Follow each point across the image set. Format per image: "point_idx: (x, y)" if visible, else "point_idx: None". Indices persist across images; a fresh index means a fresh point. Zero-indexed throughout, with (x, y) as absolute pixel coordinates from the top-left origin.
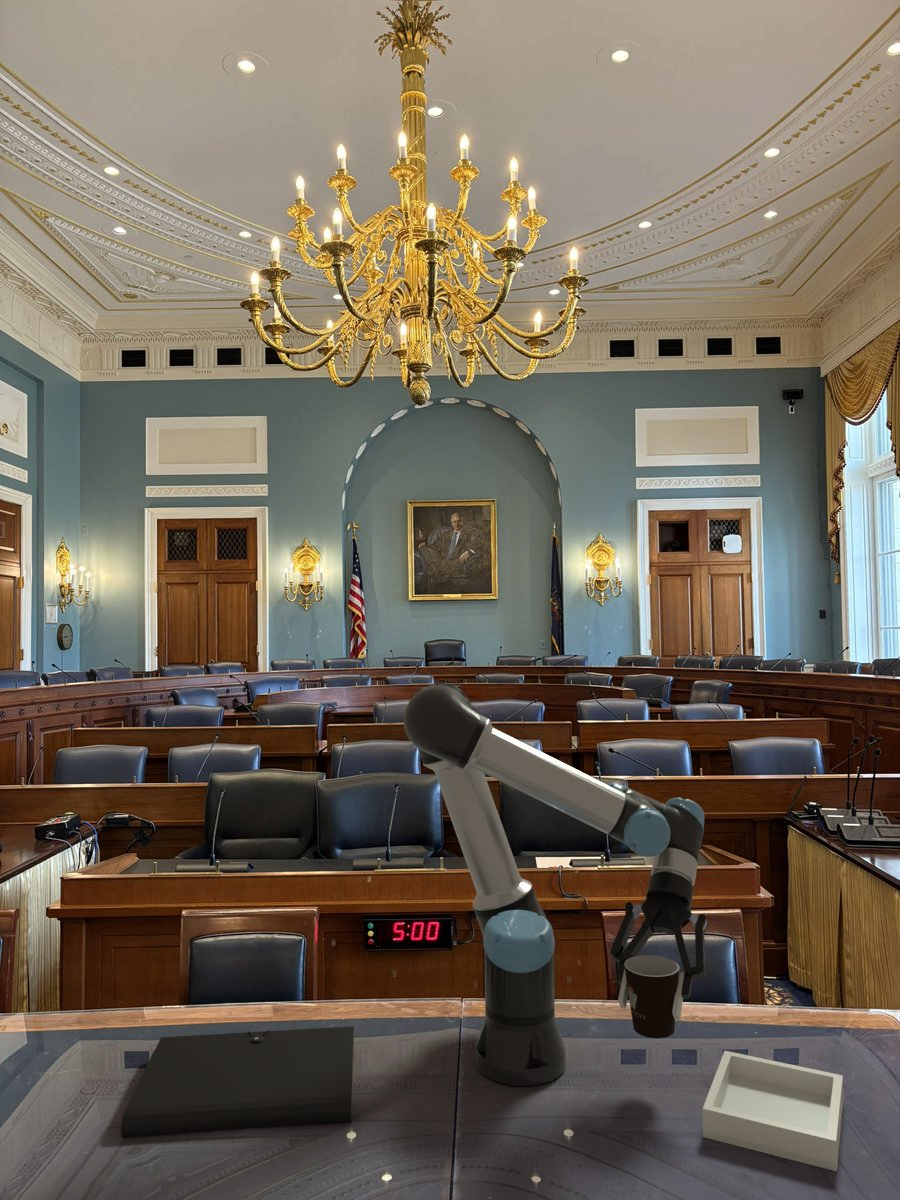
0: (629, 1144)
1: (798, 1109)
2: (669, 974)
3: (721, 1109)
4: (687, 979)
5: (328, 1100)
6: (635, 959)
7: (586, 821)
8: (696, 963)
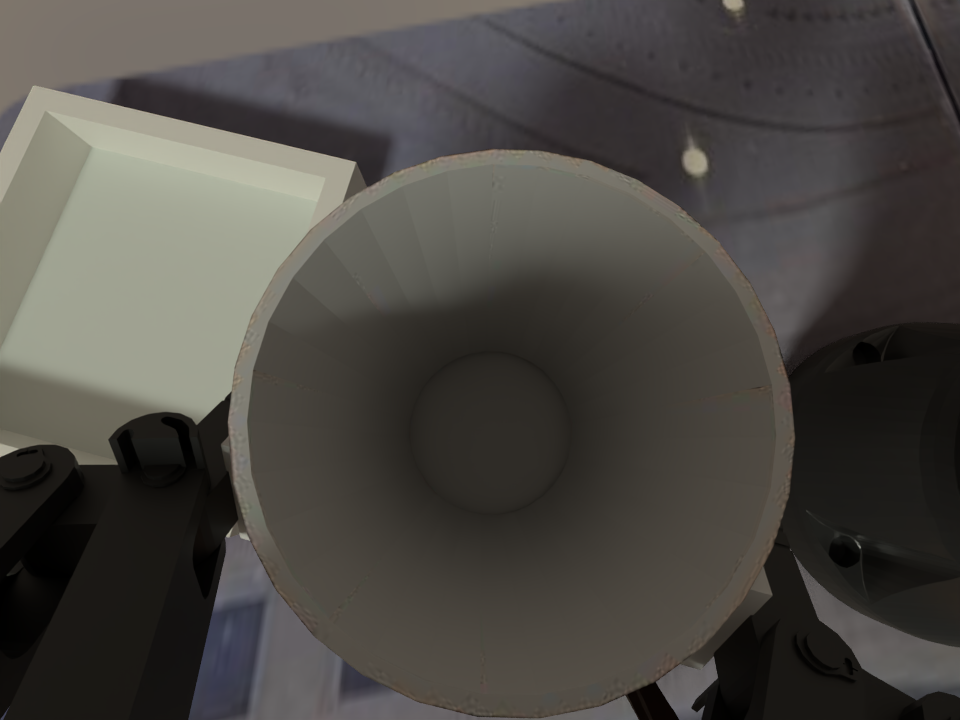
0: (548, 144)
1: (95, 334)
2: (348, 216)
3: (303, 167)
4: (217, 439)
5: None
6: (686, 609)
7: None
8: (21, 521)
